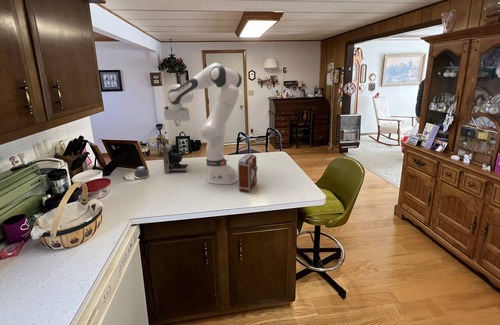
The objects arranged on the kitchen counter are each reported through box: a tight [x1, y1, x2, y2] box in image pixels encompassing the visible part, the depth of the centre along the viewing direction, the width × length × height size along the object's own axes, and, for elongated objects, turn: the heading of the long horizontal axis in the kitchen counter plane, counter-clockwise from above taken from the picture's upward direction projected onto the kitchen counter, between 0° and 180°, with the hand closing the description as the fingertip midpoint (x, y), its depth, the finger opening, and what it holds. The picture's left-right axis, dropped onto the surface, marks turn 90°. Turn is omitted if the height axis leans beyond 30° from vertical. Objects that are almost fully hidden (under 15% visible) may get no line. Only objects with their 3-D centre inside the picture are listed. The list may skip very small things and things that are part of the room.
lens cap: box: [136, 165, 146, 173], centre depth 196 cm, size 5×5×5 cm
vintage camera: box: [162, 143, 189, 174], centre depth 205 cm, size 10×16×20 cm, turn 89°
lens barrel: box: [133, 168, 150, 180], centre depth 196 cm, size 9×9×4 cm
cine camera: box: [237, 153, 259, 193], centre depth 174 cm, size 9×19×20 cm, turn 161°
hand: (177, 126), depth 209 cm, fingers closed
